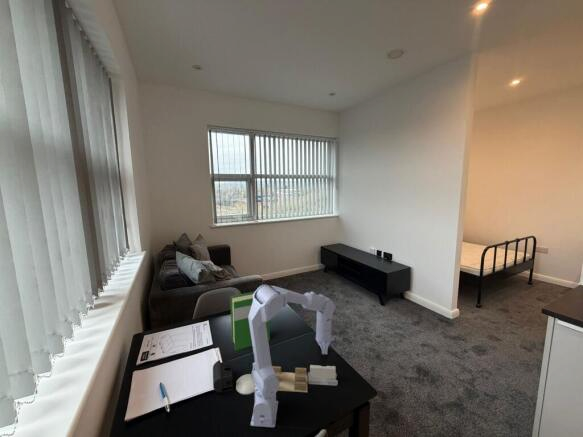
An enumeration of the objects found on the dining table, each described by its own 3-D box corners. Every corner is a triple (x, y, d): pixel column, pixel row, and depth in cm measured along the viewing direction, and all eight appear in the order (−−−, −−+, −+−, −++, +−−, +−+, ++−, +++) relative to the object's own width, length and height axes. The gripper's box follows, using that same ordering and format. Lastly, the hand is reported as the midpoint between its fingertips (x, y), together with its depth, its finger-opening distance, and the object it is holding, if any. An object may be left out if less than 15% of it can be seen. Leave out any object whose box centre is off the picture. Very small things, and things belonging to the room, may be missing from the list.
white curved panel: (335, 381, 97) (335, 369, 96) (309, 380, 97) (310, 367, 97) (334, 378, 98) (335, 366, 97) (309, 377, 99) (310, 365, 98)
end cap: (213, 376, 100) (212, 361, 99) (230, 372, 102) (230, 357, 101) (213, 396, 91) (213, 379, 90) (233, 391, 93) (232, 374, 92)
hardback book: (235, 350, 116) (233, 302, 113) (231, 341, 122) (230, 296, 119) (269, 340, 123) (269, 295, 120) (264, 332, 130) (264, 289, 127)
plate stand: (337, 386, 95) (337, 382, 95) (307, 385, 96) (308, 381, 95) (336, 376, 100) (336, 372, 100) (307, 375, 101) (307, 371, 100)
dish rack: (307, 393, 92) (307, 385, 91) (265, 391, 93) (265, 382, 92) (307, 375, 101) (307, 367, 100) (269, 373, 102) (269, 365, 101)
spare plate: (256, 396, 91) (256, 393, 91) (232, 394, 92) (232, 391, 91) (261, 377, 100) (261, 374, 100) (239, 376, 101) (239, 373, 100)
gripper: (336, 338, 87) (335, 373, 89) (332, 317, 102) (331, 347, 103) (316, 337, 88) (315, 372, 90) (315, 316, 102) (314, 346, 104)
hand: (322, 358), depth 97 cm, fingers open, 7 cm apart
